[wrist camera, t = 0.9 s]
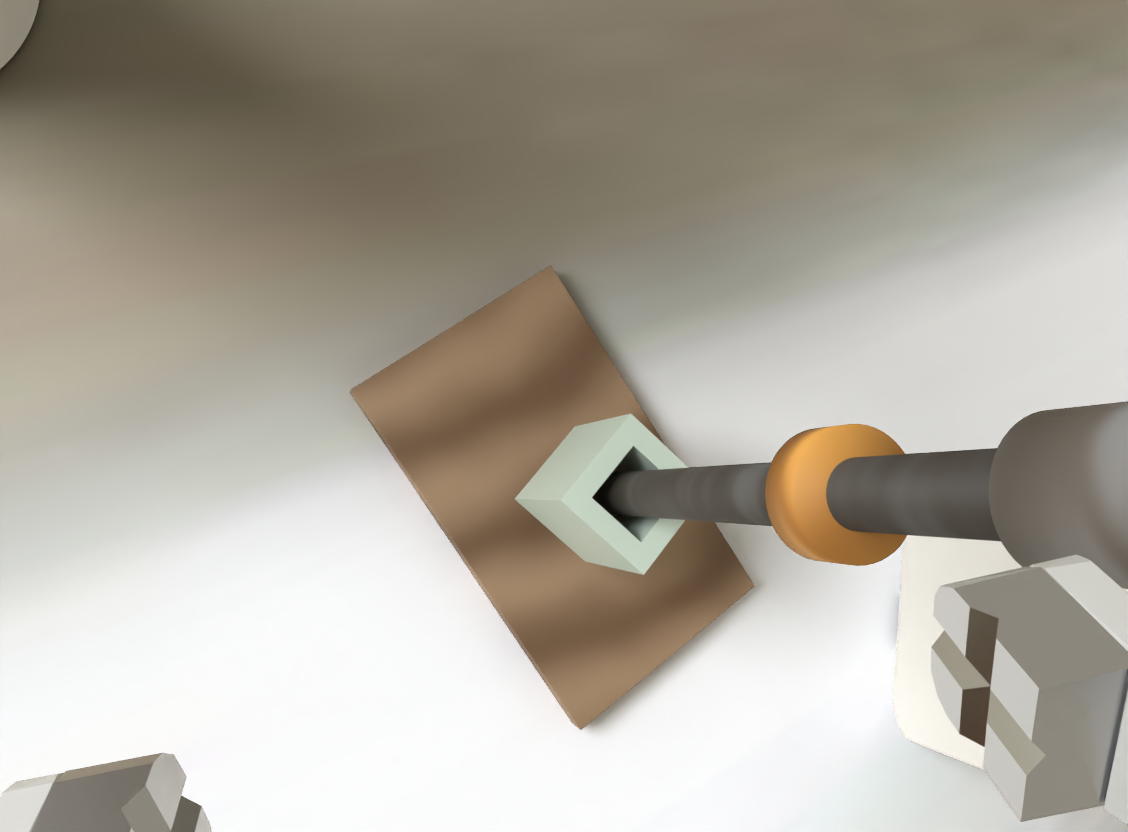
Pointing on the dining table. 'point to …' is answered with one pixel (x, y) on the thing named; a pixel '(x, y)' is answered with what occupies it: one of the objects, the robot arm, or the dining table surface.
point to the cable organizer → (934, 635)
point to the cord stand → (699, 492)
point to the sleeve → (577, 476)
